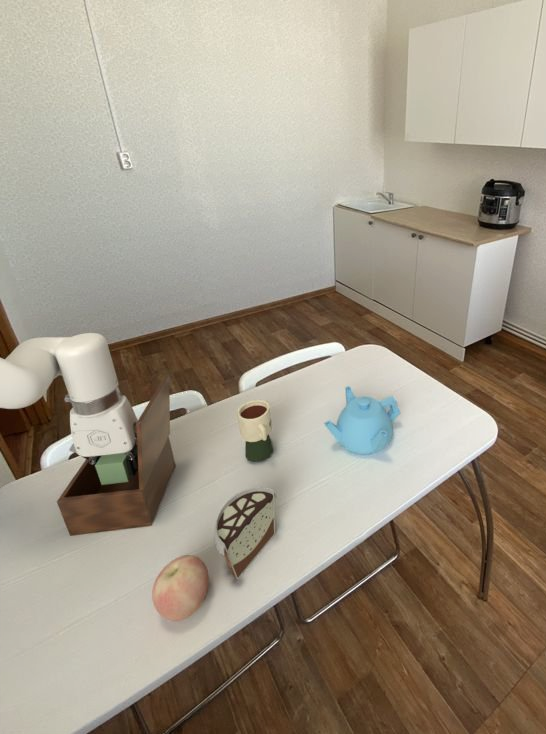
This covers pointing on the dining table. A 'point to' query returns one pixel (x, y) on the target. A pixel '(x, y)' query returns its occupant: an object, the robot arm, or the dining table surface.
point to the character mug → (256, 429)
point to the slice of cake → (245, 527)
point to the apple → (180, 588)
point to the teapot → (364, 423)
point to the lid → (153, 430)
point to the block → (113, 469)
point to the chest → (114, 498)
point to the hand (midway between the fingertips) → (120, 471)
